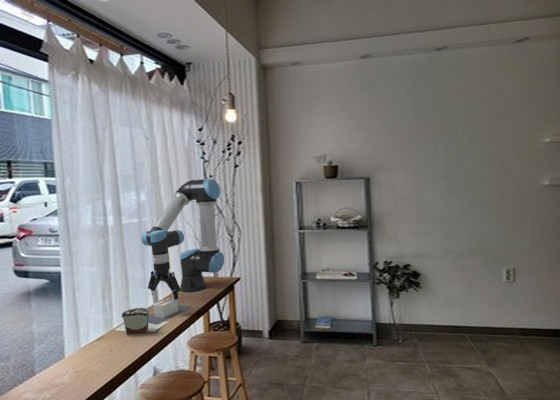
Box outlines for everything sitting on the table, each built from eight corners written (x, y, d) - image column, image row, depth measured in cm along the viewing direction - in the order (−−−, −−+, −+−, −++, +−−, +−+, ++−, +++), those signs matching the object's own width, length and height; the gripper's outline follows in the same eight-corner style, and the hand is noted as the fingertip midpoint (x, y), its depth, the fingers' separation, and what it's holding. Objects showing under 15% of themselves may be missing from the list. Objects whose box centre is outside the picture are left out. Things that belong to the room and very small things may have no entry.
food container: (156, 328, 176) (153, 306, 175) (150, 334, 170) (148, 311, 169) (130, 329, 177) (127, 308, 177) (123, 335, 171) (121, 313, 170)
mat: (174, 304, 207) (174, 304, 207) (193, 307, 200) (193, 306, 200) (138, 321, 186) (137, 320, 186) (157, 325, 180) (157, 324, 179)
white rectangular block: (163, 318, 187) (162, 305, 187) (154, 316, 190) (152, 304, 190) (178, 310, 196) (177, 298, 195) (169, 309, 199) (168, 297, 199)
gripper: (137, 262, 194) (142, 304, 196) (174, 265, 181) (178, 309, 183) (149, 259, 201) (153, 299, 202) (185, 261, 188) (189, 304, 190)
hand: (165, 304), depth 193 cm, fingers open, 13 cm apart
